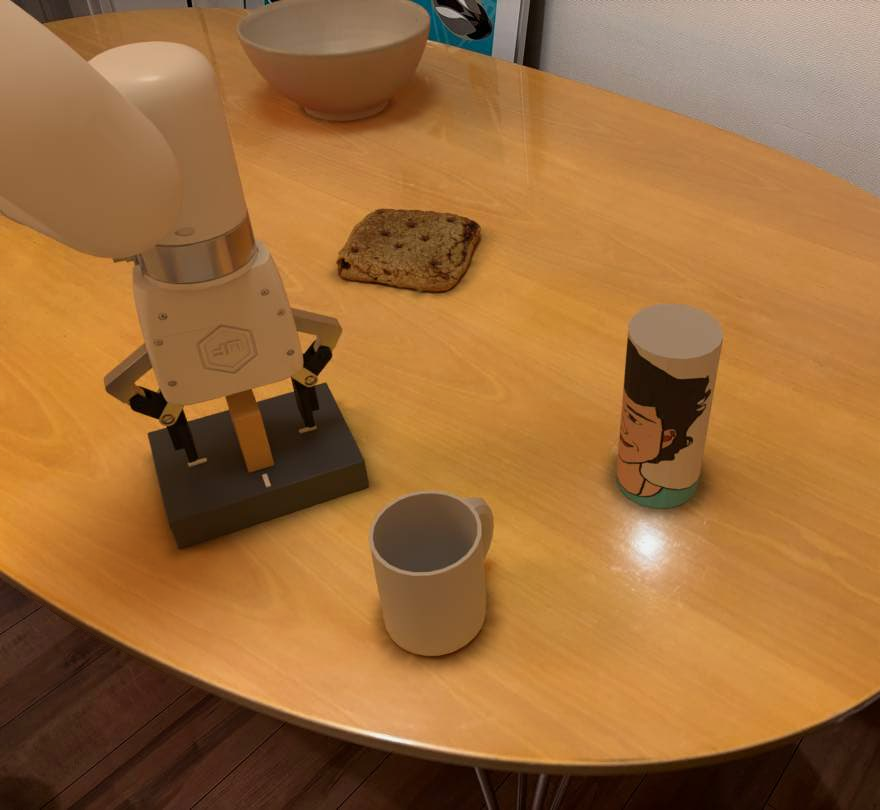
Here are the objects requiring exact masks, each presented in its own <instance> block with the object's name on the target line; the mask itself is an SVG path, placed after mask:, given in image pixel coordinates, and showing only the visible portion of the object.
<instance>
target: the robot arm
mask: <svg viewBox="0 0 880 810" xmlns="http://www.w3.org/2000/svg"><path fill="white" fill-rule="evenodd" d="M219 86H220V85H219V82H218V79H217V76H216V72H215V70H214V67H213V66H212V64H211V62H210V61H209V60H208V58H207V57H206V55H204V54H203V53H202V52H200V50H198V49H196V48H194V47H192V46H190V45H187V44H184V43H180V42H179V43H178V42H173V41H161V40H160V41H159V40H155V41H140V42H133V43H128V44H123V45H119V46H115V47H113V48H110V49H107V50H105V51H103V52H101V53H98V54H97V55H95V56H93V57H92V58H91V59H90V60H88V61H86V60H85V58H84V57H82V56H81V55H80V53H78V52H77V51H76V50H74V49H73V48H72V47H71V46H70V45H69V44H67V43H66V42H65V41H64V40H63V39H61V38H60V37H59V36H58V35H56V34H55V33H54V32H52V31H51V30H50V29H49V28H48V27H47V26H45V25H44V24H43V23H41V22H40V21H38V20H37V19H36V18H35V17H33V16H32V15H31V14H29V13H28V12H27V11H25V10H24V9H23V8H22V7H21V6H19V5H17V4H16V3H15V2H13V1H12V0H0V216H1V217H3V218H6V219H7V220H10V221H12V222H14V223H15V224H18V225H22V226H25V227H27V228H29V229H31V230H32V231H33V230H34V231H35V232H38V233H39V234H42V235H44V236H45V237H48V238H50V239H52V240H54V241H56V242H58V243H60V244H62V245H64V246H66V247H68V248H70V249H72V250H74V251H76V252H78V253H81V254H84V255H88V256H92V257H95V258H103V259H112V261H113V264H116V263H121V262H126V263H131V262H133V264H134V265H133V267H132V290H133V291H132V292H133V299H134V305H135V310H136V314H137V319H138V323H139V327H140V330H141V331H140V332H141V334H142V337H143V341H144V342H143V343H142V344H141V345H140V346H139V347H137V348H136V349H135V350H134V351H133V352H132V353H131V354H129V355H128V356H127V357H125V358H124V359H123V360H122V361H121V362H120V363H119V364H117V365H116V366H115V367H114V368H112V370H110V371H108V372H107V374H106V375H104V377H103V383H104V389H105V392H106V393H107V394H108V395H110V396H111V397H113V398H115V399H117V400H118V401H119V402H121V403H122V404H126V405H127V406H129V407H130V409H131V410H132V411H133V412H135V413H138V414H141V415H143V416H146V417H149V418H152V419H155V420H158V422H159V424H160V425H161V426H163V427H165V428H166V427H167V430H168V432H169V435H170V438H171V440H172V443H173V446H174V449H175V451H176V450H180V449H183V448H184V449H185V452H186V455H187V457H188V460H189V463H192V462H195V461H196V459H199V458H198V455H197V451H196V447H195V443H194V440H193V436H192V433H191V430H190V427H189V424H188V418H187V416H186V413H185V410H184V408H185V406H192V405H196V404H201V403H205V402H209V401H213V400H216V399H220V398H223V397H224V398H225V396H228V395H232V394H235V393H239V392H243V391H246V390H250V389H252V390H253V389H254V390H255V389H257V388H261V387H264V386H267V385H271V384H275V383H278V382H281V381H285V380H287V379H290V380H291V385H292V389H293V391H294V394H295V398H296V402H297V406H298V409H299V412H300V414H301V416H302V419H303V421H304V424H305V426H306V427H309V428H312V427H315V422H314V417H313V413H312V412H313V411H316V410H319V404H318V399H317V394H316V389H315V385H318V382H319V377H318V376H319V375H320V374H321V372H322V371H323V370H324V369H325V367H326V366H327V365H328V364H329V362H330V361H331V360H332V358H333V351H334V349H335V348H336V347H337V344H338V342H339V341H340V338H341V335H342V334H343V327H342V326H341V324H340V321H339V320H338V319H337V318H336V317H332V316H328V315H325V314H320V313H316V312H311V311H307V310H302V309H299V308H294V307H291V304H290V301H289V297H288V295H287V290H286V288H285V285H284V282H283V279H282V277H281V273H280V272H279V269H278V267H277V264H276V262H275V260H274V257H273V256H272V254H271V252H270V250H269V249H268V247H267V246H266V245H265V243H264V242H263V240H262V239H259V238H258V237H256V236H255V235H254V231H253V227H252V221H251V217H250V213H249V209H248V206H247V203H246V198H245V193H244V190H243V189H244V188H243V184H242V181H241V177H240V173H239V168H238V164H237V159H236V155H235V151H234V147H233V142H232V138H231V133H230V129H229V125H228V120H227V116H226V111H225V108H224V107H225V106H224V103H223V99H222V96H221V91H220V87H219ZM299 332H300V333H304V334H309V335H313V336H316V339H315V340H313V342H311V344H310V345H309V346H308V348H307V349H306V351H304V353H303V350H302V345H301V341H300V336H299ZM150 370H152V371H153V374H154V377H155V379H156V382H157V385H158V390H157V391H154V390H152V389H149V388H147V387H144V386H140V385H137V384H136V382H137V381H138V380H139V379H141V378H142V377H143V376H144V375H145V374H147V373H148V372H150Z"/></svg>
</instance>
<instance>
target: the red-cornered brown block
mask: <svg viewBox="0 0 880 810" xmlns="http://www.w3.org/2000/svg"><path fill="white" fill-rule="evenodd" d="M224 398H225V401H226V404H227V408H228V410H229V412H230V415H231V418H232V421H233V425H234V428H235V431H236V434H237V437H238V440H239V444H240V447H241V450H242V453H243V456H244V459H245V462H246V465H247V468H248V472H249V473H251V472H254V471H257V470H261V469H264V468H267V467H271V466H274V461H273V457H272V454H271V450H270V446H269V443H268V439H267V435H266V431H265V428H264V424H263V420H262V417H261V413H260V410H259V407H258V405H257V402H258V401H257V400H256V396H255V393H254V390H253V389H250V390H246V391H243V392H239V393H235V394H232V395H228V396H224Z"/></svg>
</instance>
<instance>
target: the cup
mask: <svg viewBox="0 0 880 810" xmlns="http://www.w3.org/2000/svg"><path fill="white" fill-rule="evenodd" d="M494 523H495V521H494V515H493V510H492V508H491V507H490V506H489V504H488V503H487V502H486V501H485V500H484V498H483V497H469V496H468V497H466V498H462V497H461V496H458V495H456V494H453V493H451V492H447V491H442V490H420V491H419V490H418V491H414V492H409V493H406V494H404V495H402V496H399V497H397V498H394V499H393V500H392V501H390V502H389V503H386V505H384V506H383V507H382V508H381V509H380V510H379V512H378V513H377V514H376V515H375V516H374V518H373V520H372V522H371V524H370V526H369V532H368V543H369V548H370V554H371V560H372V565H373V571H374V575H375V576H374V577H375V581H376V587H377V592H378V596H379V602H380V608H381V613H382V617H383V623H384V626H385V629H386V632H387V633H388V635H389V637H390V638H391V640H392V641H393V642H394V643H395V644H396V645H398V647H400V648H401V649H403V650H405V651H407V652H409V653H411V654H415V655H419V656H425V657H439V656H443V655H448V654H451V653H454V652H455V651H458V650H460V649H462V648H463V647H465V646H467V645H468V644H469V643H470V642H471V641H472V640H474V638H476V637H477V635H478V634H479V632H480V631H481V630H482V628H483V625H484V622H485V620H486V617H487V616H486V615H487V593H486V592H487V591H486V575H485V573H486V572H485V559H486V557H487V555H488V552H489V550H490V548H491V544H492V541H493V538H494V537H493V536H494V530H495V529H494V528H495V524H494Z"/></svg>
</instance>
